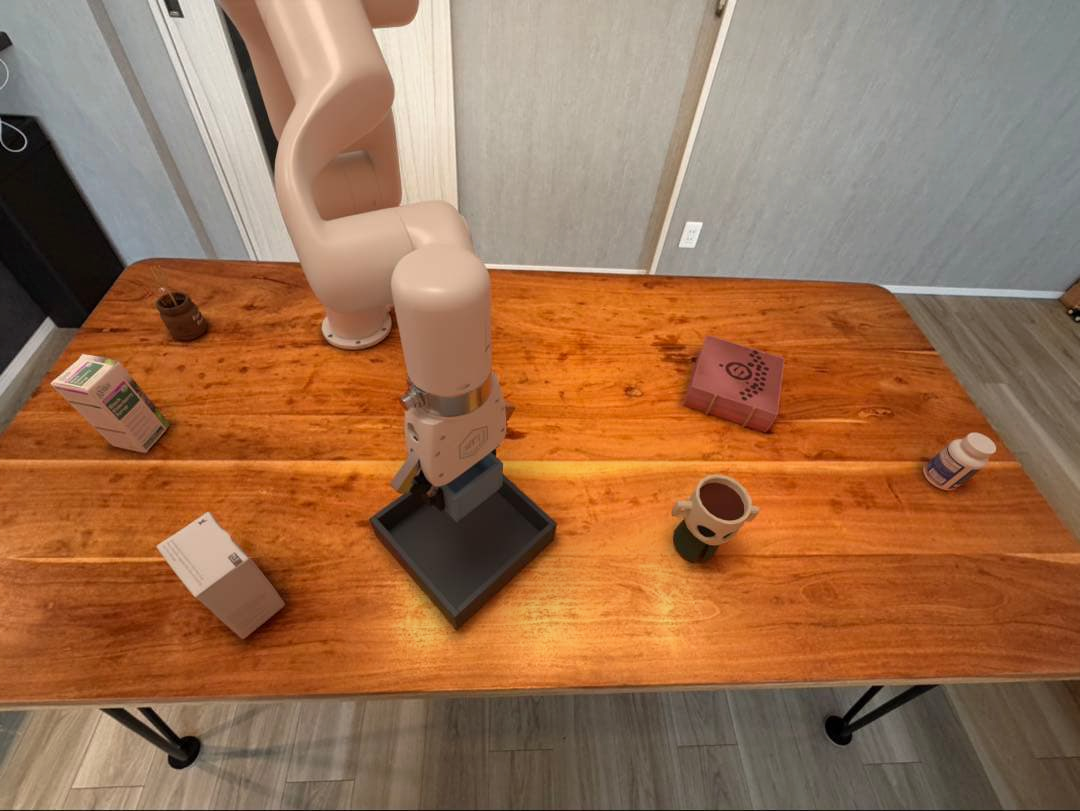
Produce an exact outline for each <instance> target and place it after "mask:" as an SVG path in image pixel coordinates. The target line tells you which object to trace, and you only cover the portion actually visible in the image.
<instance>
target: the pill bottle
mask: <svg viewBox="0 0 1080 811" xmlns="http://www.w3.org/2000/svg"><path fill="white" fill-rule="evenodd" d="M996 452H997V446H996V444H995V442H994V441H993V440H992V439H991V438H989V437H988V436H987V435H984V434H982V433H979V432H970V433H968V434H967V435H966V436H965V437H963V438H956V439H954V440H952V441H951V442H949V443H948V444H947V445H946V446H945V447H943V449H942V450H940V451H939V452H938V453H937V454H936V455H935V456H934V457H932V458H931V459H930V460H929V461H928V462H927V463H926V464H925V465H924V466H923V469H922V471H923V475H924V478H925V479H926V480H927V481H928V482H929V483H930V484H931V485H933V486H934V487H936V488H938V489H940V490H943V491H949V492H951V491H954V490H956V489H958V488H959V487H961V486H962V485H963V484H965V483H966V482H967V481H969V480H970V479H971V478H972V477H974V476H975V475H976V474H978V473H979V472H981V471H982V470H983V469H984V468H985V467H987V465H988V464H989V460H990V459H989V458H990V457H991V456H992V455H994V454H995V453H996Z"/></svg>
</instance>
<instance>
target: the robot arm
mask: <svg viewBox="0 0 1080 811" xmlns="http://www.w3.org/2000/svg"><path fill="white" fill-rule="evenodd" d="M216 2H217V3H218V4H219V6H220V7H221V9H222V10H223V11H224V13H225V14H226V16H227V17H228V18H229V20H230V21H231V23H232V24H233V25H234V26H235V28H236V30H237V31H238V33H239V35H240V37H241V38H242V41H243V42H244V44H245V48H246V50H247V52H248V55H249V58H250V61H251V64H252V68H253V72H254V75H255V78H256V81H257V84H258V88H259V90H260V95H261V98H262V100H263V104H264V108H265V111H266V113H267V116H268V120H269V123H270V126H271V129H272V131H273V132H272V133H273V134H274V137H275V139H276V141H277V143H278V146H277V150H276V155H275V161H274V187H275V194H276V200H277V204H278V207H279V211H280V214H281V216H282V220H283V223H284V225H285V228H286V231H287V233H288V235H289V238H290V241H291V244H292V246H293V248H294V251H295V254H296V256H297V259H298V261H299V264H300V266H301V268H302V272H303V273H304V276H305V278H306V281H307V283H308V284H309V287H310V289H311V290H312V292H313V294H314V296H315V297H316V298H317V300H318V301H319V302H320V303H321V304H322V305H323V309H324V312H325V315H326V316H325V317H324V319H323V320H322V324H321V332H322V335H323V337H324V339H325V340H326V342H328V343H329V344H330V345H332V346H333V347H336V348H339V349H343V350H350V351H351V350H363V349H367V348H370V347H373V346H375V345H377V344H380V342H382V341H383V340H385V339H386V338H387V336H388V335H389V334H390V332H391V330H392V325H393V323H392V318H391V315H390V312H391V309H393V308H394V312H395V317H396V321H397V326H398V332H399V336H400V344H401V347H402V353H403V359H404V364H405V369H406V374H407V375H406V376H407V377H406V378H405V379H406V384H407V389H406V392H404V394H403V395H402V396H400V397H399V398H398V402H399V404H400V406H401V407H402V409H403V410H404V436H405V438H404V439H405V446H406V452H407V455H408V457H407V458H406V460H405V461H403V464H402V465H401V467H400V468H399V470H398V471H397V472H396V473H395V475H394V477H393V478H392V480H391V481H390V482H389V485H390V487H391V488H393V490H394V491H395V492H396V493H397V494H404V493H412V494H413V495H418V494H421V495H422V498H423V500H424V501H425V502H426V504H427V505H428V506H430V507H431V506H432V505H434V506H435V507H436V508H437V509H438V510H439V511H440V512H441V511H442V510H444V509H445V503H444V497H443V491H442V490H441V489H440V488H439V486H443V485H445V484H447V483H449V482H451V481H452V480H454V479H455V478H457V477H458V476H459V475H461V474H462V473H463V472H465V471H466V470H468V469H469V468H470V467H472V466H473V465H474V464H476V463H477V462H478V461H480V460H481V459H482V458H484V457H485V456H486V455H488V454H489V453H490V452H491V453H492V454H494V455H495V456H496V457H497V449H498V448H499V447H500V446H501V444H502V443H503V441H504V440H505V439H506V435H507V429H508V421H509V420H510V419H511V418H512V416H513V414H514V413H515V411H516V406H515V405H514V404H513V403H511V402H510V401H509V400H505V399H504V393H503V390H502V386H501V384H500V380H499V378H498V376H497V374H496V373H495V372H494V371H493V355H492V354H493V351H492V350H493V348H492V346H493V345H492V344H493V343H492V338H493V336H492V334H493V332H492V331H493V330H492V282H491V276H490V273H489V270H488V269H487V267H486V265H485V263H484V262H483V261H482V260H481V259H480V258H479V256H477V255H476V252H475V249H474V244H473V236H472V233H471V229H470V226H469V223H468V221H467V220H466V218H465V216H464V215H462V214H460V212H459V211H458V209H457V208H456V207H455V206H454V205H452V203H450V202H448V201H446V200H442V199H429V200H428V199H427V200H422V201H418V202H413V203H408V204H404V205H403V204H402V199H403V185H402V177H401V167H400V158H399V148H398V140H397V139H398V138H397V130H396V124H395V116H394V112H393V104H394V101H395V96H396V94H395V92H396V91H395V90H396V89H395V84H394V80H393V77H392V74H391V72H390V69H389V66H388V64H387V62H386V59H385V57H384V54H383V52H382V49H381V48H380V45H379V42H378V40H377V37H376V35H375V32H374V30H376V29H377V30H378V29H390V28H392V29H393V28H402V27H405V26H408V25H410V24H411V23H412V22H413V21H414V20H415V18H416V16H417V14H418V11H419V6H420V0H216ZM401 204H402V205H401Z"/></svg>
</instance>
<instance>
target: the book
mask: <svg viewBox="0 0 1080 811" xmlns="http://www.w3.org/2000/svg"><path fill="white" fill-rule="evenodd" d="M785 361H786V360H785V357H781V356H778V355H775V354H771V353H769V352H764V351H763V350H762V351H761V350H759V349H756V348H752V347H749V346H746V345H742V344H739V343H735V342H733V341H729V340H726V339H722V338H719V337H716V336H714V335H713V336H712V335H710V334H706V335H705V337H704V340H703V344H702V347H701V351H700V350H699V351H698V354H697V357H696V360H695V364H694V366H693V371H692V375H691V378H690V382H689V385H688V388H687V391H686V395H685V398H684V402H683V406H685V407H688V408H691V409H694V410H697V411H700V412H702V413H704V414H705V415H706V416H708V415H711V416H714V417H718V418H721V419H723V420H726V421H729V422H731V423H734V424H735V423H736V424H739V425H741V427H742V428H745V427H748V428H751V429H754V430H756V431H758V432H759V431H760V432H762V433H767V431H769V429H770V428H771V426H772V425H773V424H774V422H775V420H776V419H777V416H778V414H779V407H780V406H779V405H780V400H781V399H780V398H781V392H782V384H783V376H784V368H785Z"/></svg>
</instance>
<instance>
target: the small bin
mask: <svg viewBox="0 0 1080 811" xmlns="http://www.w3.org/2000/svg"><path fill="white" fill-rule="evenodd" d="M503 474H504V462H502V460H500V458H498V457H497V455H496V456H495V455H494V454H492V453H491V452H490V453H489V454H488V455H486V456H485V457H484V458H482V459H481V460H480V461H478V462H477V463H476V464H474V465H473V466H472V467H470V468H469V469H468V470H466V471H465V472H463V473H462V474H461V475H459V476H458V477H457V478H455V479H454V480H452V481H451V482H449V483H447V484H445V485H443V486H439V488H440V489H441V490H442V491H443V497H444V503H445V509H444V510H445V511H446V512H447V513H448V514H449V515H450V516H451V517H452V518H453V519H454V520H455V521H456V522H458V521H460V520H461V519H462V518H463V517H465V516H466V515H467V514H468V513H470V512H471V511H472V510H473V509H475V508H476V507H477V506H478V505H480V504H481V503H482V502H483V501H485V500H486V499H487V498H488V497H490V496H491V495H492V494H493V493H495V492H496V491H497V490H498V489H500V488H501V487H502V484H503Z"/></svg>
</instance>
